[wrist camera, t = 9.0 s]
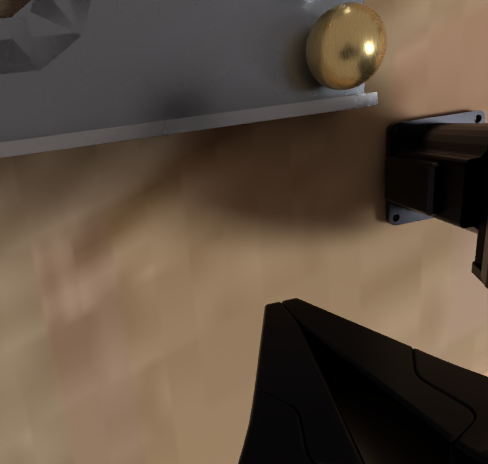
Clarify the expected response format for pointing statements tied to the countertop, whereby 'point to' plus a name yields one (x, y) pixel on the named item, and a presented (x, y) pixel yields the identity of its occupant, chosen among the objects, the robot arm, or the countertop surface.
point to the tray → (156, 69)
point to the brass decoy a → (346, 46)
